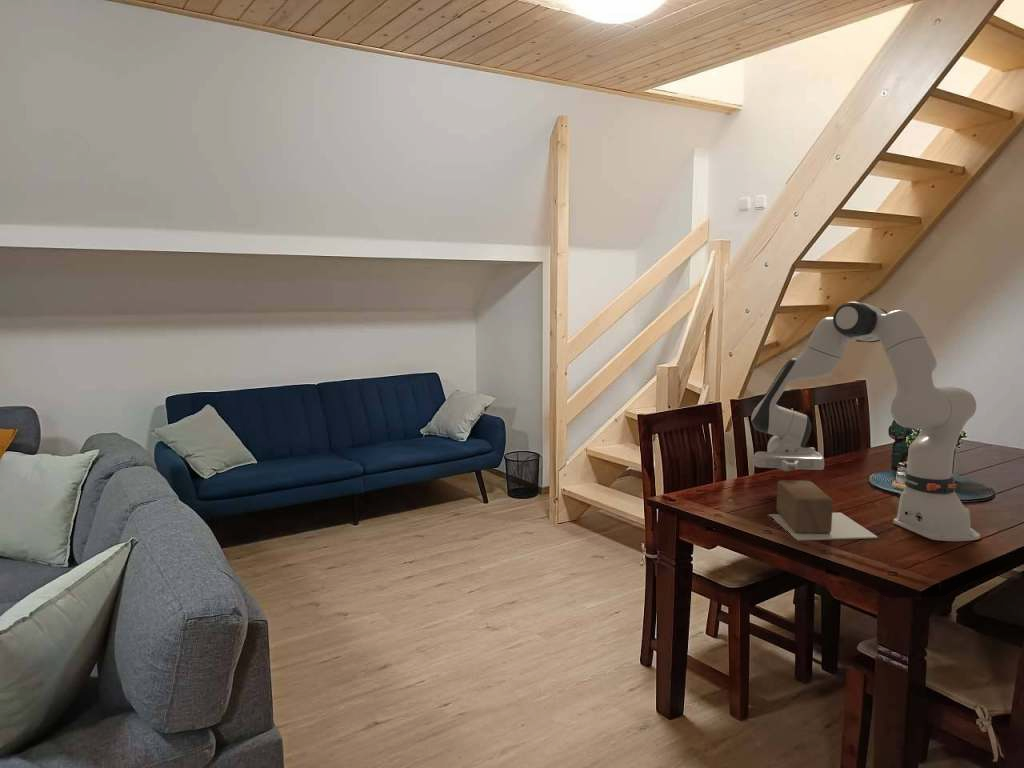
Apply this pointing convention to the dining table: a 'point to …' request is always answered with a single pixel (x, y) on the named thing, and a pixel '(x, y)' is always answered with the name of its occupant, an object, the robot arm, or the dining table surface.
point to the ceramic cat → (899, 443)
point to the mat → (839, 529)
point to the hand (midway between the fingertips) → (791, 467)
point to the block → (804, 506)
